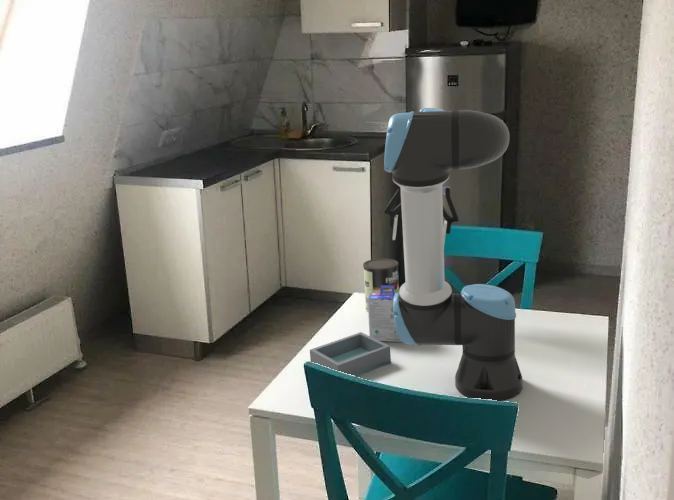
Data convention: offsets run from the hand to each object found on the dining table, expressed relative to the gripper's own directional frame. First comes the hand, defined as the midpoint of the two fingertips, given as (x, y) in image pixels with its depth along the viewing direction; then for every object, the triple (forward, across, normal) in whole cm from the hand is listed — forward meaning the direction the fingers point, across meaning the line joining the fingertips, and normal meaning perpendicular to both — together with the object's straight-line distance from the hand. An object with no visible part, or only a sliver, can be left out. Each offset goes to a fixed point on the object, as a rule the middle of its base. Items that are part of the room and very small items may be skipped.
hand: (418, 241), depth 205 cm
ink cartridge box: (+23, +4, +16) cm, 28 cm away
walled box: (+24, +13, +32) cm, 42 cm away
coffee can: (+24, +8, -6) cm, 26 cm away
